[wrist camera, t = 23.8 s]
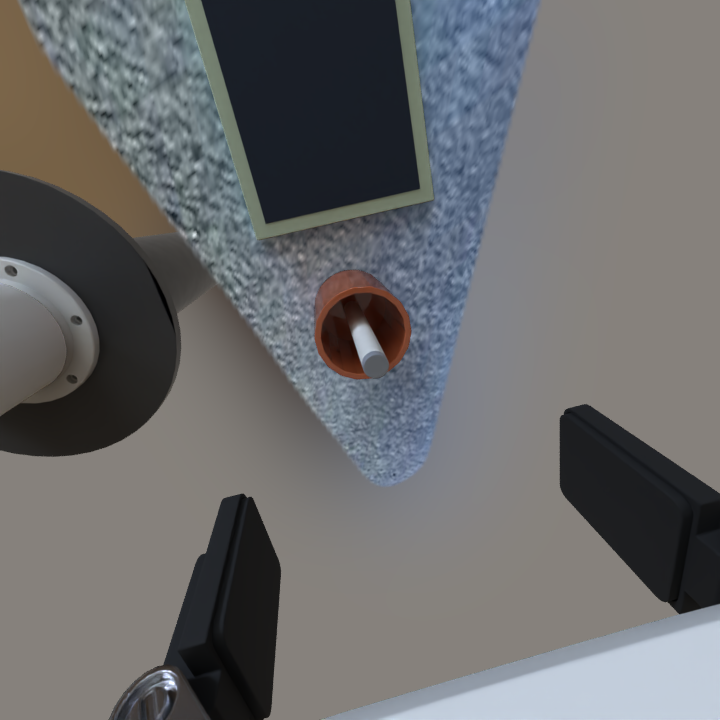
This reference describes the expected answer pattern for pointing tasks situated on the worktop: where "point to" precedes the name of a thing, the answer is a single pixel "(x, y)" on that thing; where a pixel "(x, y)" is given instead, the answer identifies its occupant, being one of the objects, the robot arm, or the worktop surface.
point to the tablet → (317, 106)
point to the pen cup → (379, 312)
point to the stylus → (366, 342)
